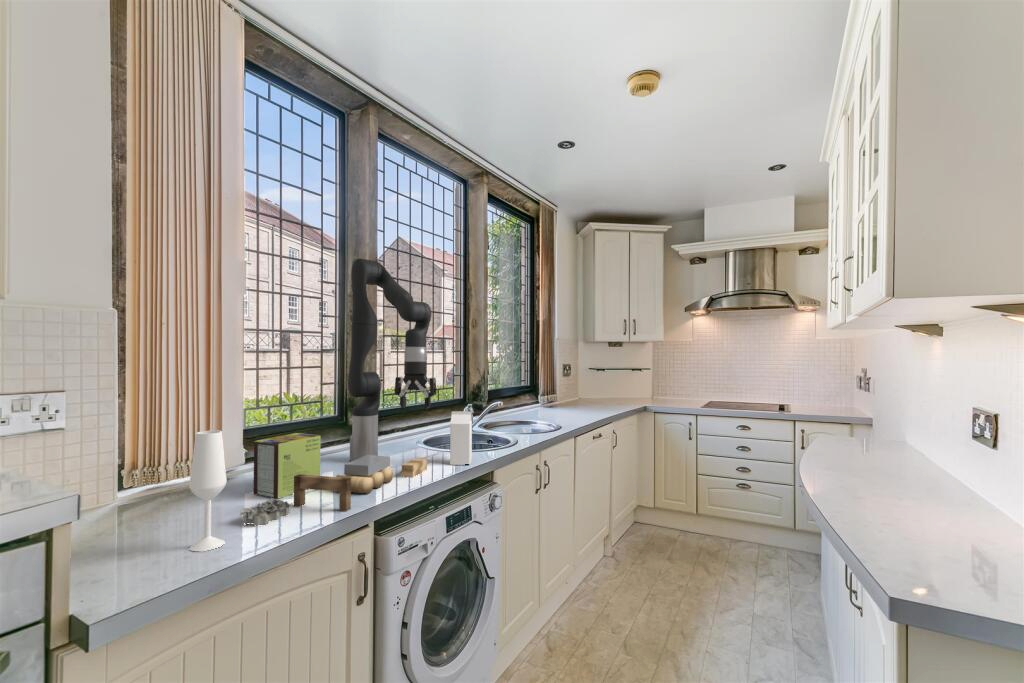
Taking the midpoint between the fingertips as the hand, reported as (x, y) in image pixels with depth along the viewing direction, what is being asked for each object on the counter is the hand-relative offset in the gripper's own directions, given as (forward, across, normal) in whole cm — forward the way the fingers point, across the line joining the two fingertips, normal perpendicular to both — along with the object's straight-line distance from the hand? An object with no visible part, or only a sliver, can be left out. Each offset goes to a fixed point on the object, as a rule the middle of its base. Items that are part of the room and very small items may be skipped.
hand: (415, 408), depth 162 cm
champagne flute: (+22, -16, -66) cm, 72 cm away
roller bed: (+22, -8, -18) cm, 30 cm away
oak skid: (+22, 0, 0) cm, 22 cm away
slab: (+18, -8, -16) cm, 25 cm away
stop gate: (+22, -8, -39) cm, 45 cm away
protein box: (+22, -28, -27) cm, 45 cm away
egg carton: (+22, -16, -49) cm, 56 cm away
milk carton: (+22, +10, +18) cm, 30 cm away
